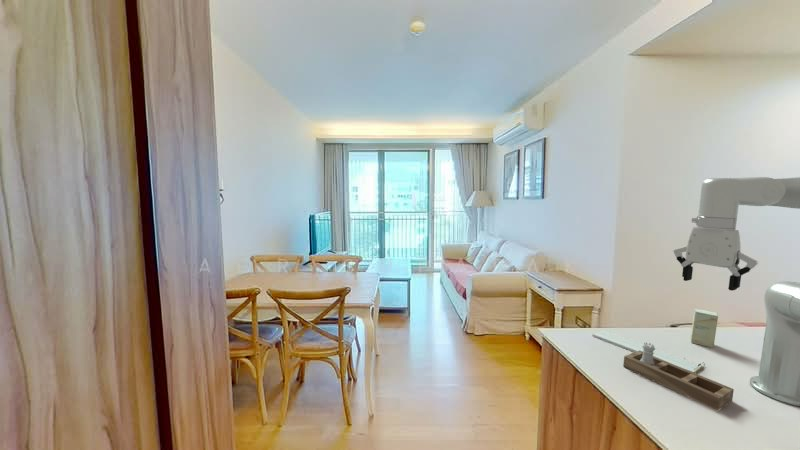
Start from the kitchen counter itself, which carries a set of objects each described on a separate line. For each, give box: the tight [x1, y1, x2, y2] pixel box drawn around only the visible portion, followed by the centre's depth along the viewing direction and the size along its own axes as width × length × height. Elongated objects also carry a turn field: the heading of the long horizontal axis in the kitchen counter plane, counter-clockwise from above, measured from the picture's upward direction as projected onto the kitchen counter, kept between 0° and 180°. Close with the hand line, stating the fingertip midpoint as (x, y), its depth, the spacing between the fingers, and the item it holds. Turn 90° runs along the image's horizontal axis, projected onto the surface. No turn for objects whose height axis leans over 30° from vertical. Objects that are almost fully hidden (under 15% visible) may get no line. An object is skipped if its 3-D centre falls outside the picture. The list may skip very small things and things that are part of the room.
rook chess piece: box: [639, 342, 656, 366], centre depth 100 cm, size 4×4×8 cm
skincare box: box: [690, 308, 719, 349], centre depth 118 cm, size 6×4×12 cm
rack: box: [622, 350, 735, 412], centre depth 94 cm, size 9×23×4 cm, turn 26°
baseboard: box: [591, 329, 706, 374], centre depth 113 cm, size 30×3×10 cm
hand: (708, 284), depth 89 cm, fingers open, 9 cm apart
